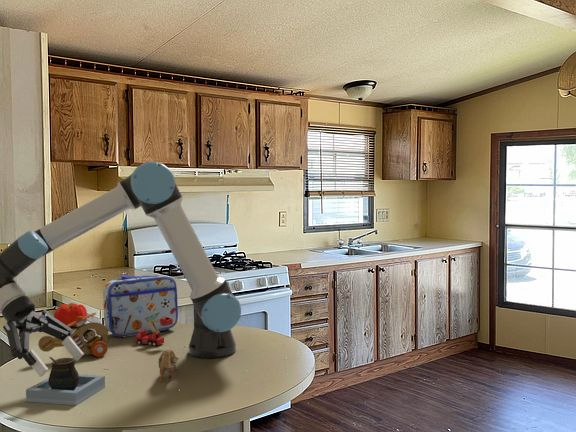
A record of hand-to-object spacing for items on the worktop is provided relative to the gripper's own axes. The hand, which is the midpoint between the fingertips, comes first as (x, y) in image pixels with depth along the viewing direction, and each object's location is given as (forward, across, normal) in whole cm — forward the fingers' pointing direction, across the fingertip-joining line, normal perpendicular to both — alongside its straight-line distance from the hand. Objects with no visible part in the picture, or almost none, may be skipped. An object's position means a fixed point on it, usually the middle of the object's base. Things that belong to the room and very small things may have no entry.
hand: (63, 365), depth 143 cm
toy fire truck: (+4, -48, -7) cm, 49 cm away
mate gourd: (+5, +1, -4) cm, 7 cm away
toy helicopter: (-7, -29, -18) cm, 35 cm away
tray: (+6, 0, -5) cm, 8 cm away
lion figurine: (+20, -19, +9) cm, 29 cm away
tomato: (-29, -65, -40) cm, 81 cm away
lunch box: (-6, -62, -16) cm, 64 cm away
